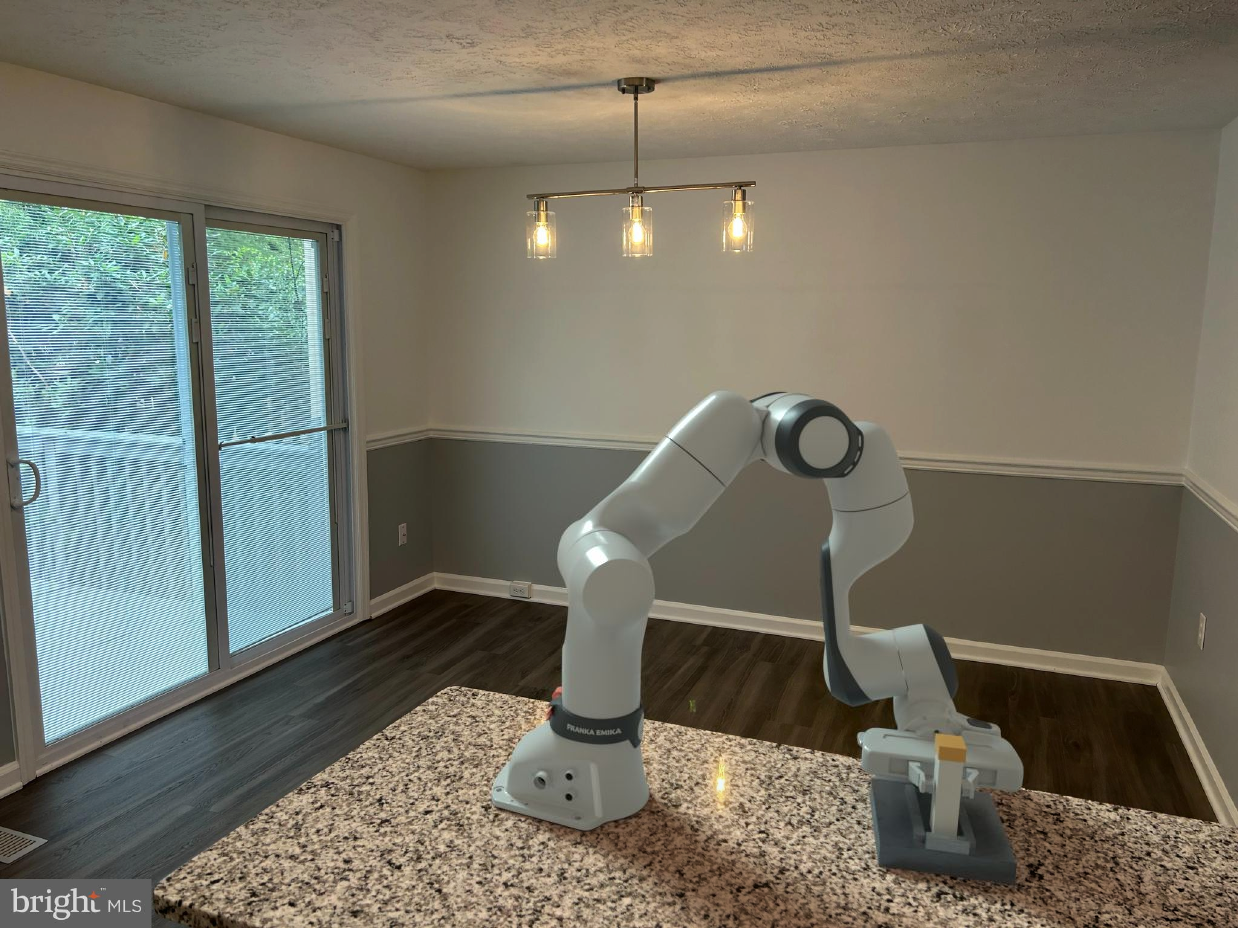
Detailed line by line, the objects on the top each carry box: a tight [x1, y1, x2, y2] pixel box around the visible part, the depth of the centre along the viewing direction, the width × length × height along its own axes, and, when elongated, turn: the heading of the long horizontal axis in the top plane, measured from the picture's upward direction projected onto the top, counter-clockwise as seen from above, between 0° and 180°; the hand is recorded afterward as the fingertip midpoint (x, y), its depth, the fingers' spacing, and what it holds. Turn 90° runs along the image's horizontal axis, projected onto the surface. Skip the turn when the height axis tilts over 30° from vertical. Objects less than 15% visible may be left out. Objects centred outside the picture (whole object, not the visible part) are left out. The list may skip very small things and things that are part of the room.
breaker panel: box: [869, 778, 1018, 886], centre depth 115 cm, size 16×16×5 cm
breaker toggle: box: [930, 734, 967, 836], centre depth 110 cm, size 3×3×12 cm
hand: (947, 790), depth 109 cm, fingers open, 3 cm apart
